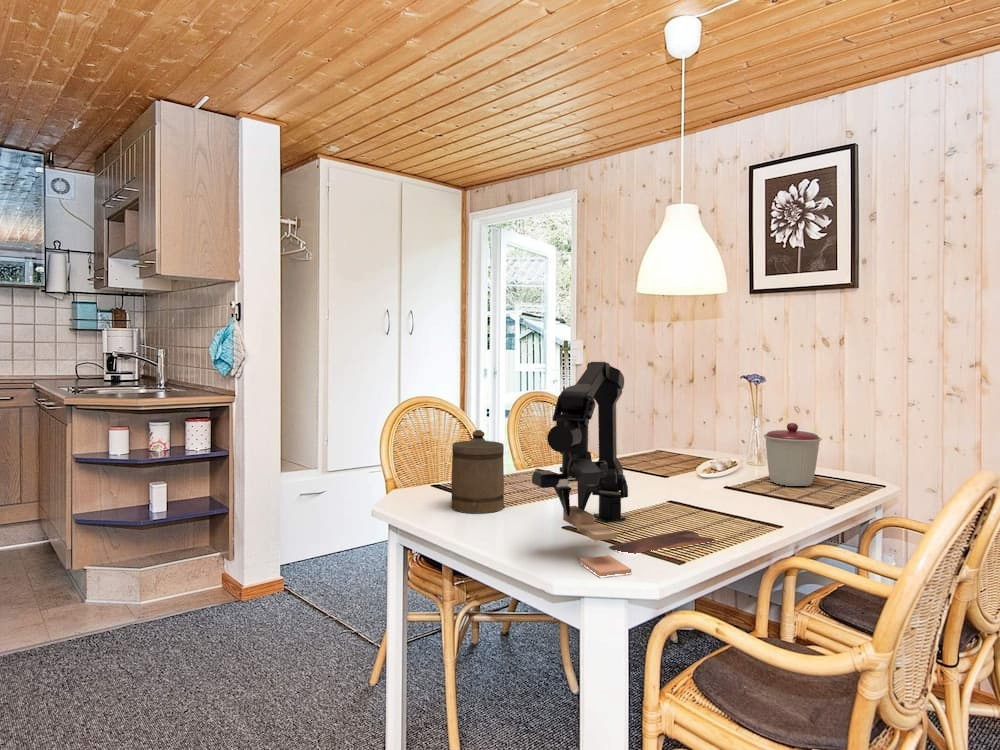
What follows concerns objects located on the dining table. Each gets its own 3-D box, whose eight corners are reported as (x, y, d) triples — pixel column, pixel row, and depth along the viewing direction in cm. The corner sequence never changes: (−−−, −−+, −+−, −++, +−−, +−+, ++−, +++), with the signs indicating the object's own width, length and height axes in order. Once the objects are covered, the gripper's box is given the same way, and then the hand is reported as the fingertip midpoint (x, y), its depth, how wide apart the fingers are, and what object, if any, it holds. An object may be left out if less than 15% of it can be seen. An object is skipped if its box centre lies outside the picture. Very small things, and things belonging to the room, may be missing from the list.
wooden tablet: (632, 554, 139) (603, 537, 148) (631, 564, 139) (602, 546, 148) (719, 538, 152) (688, 524, 161) (718, 548, 152) (687, 532, 161)
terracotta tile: (579, 558, 135) (600, 572, 127) (609, 555, 138) (631, 569, 129) (579, 566, 135) (600, 580, 127) (609, 562, 138) (631, 576, 129)
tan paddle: (559, 520, 147) (559, 506, 147) (578, 518, 149) (579, 505, 149) (594, 540, 131) (595, 526, 131) (616, 538, 133) (616, 524, 133)
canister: (754, 478, 230) (756, 419, 229) (806, 479, 229) (807, 420, 228) (774, 489, 212) (775, 425, 211) (830, 490, 211) (832, 426, 210)
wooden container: (483, 499, 194) (484, 426, 193) (514, 509, 182) (515, 431, 181) (441, 505, 185) (442, 429, 184) (470, 516, 173) (471, 435, 172)
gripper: (552, 453, 134) (551, 527, 135) (630, 449, 141) (629, 520, 141) (531, 445, 145) (530, 514, 145) (605, 442, 151) (604, 508, 152)
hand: (574, 515), depth 145 cm, fingers closed on tan paddle, 3 cm apart
